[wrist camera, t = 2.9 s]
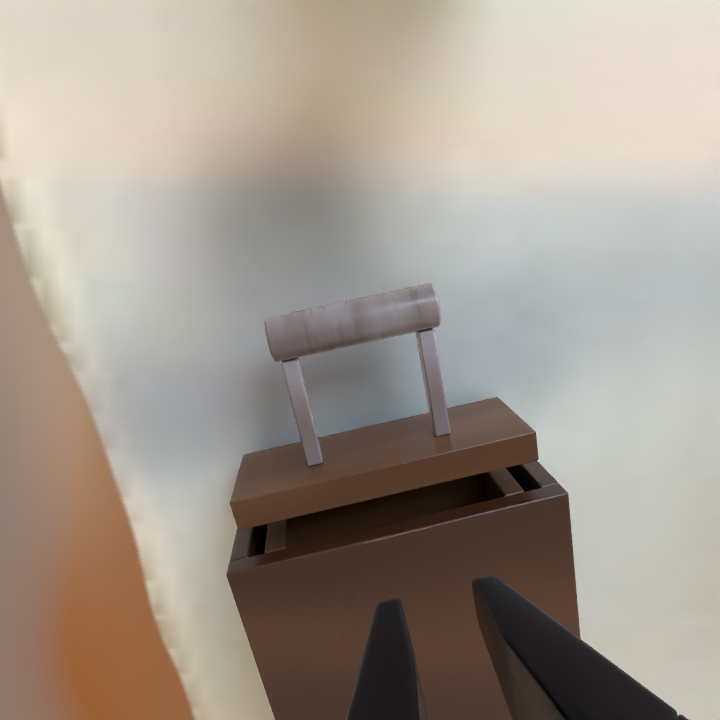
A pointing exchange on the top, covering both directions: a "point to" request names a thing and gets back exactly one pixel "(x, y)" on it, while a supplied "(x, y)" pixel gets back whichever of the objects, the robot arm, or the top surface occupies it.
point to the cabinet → (403, 599)
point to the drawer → (375, 436)
